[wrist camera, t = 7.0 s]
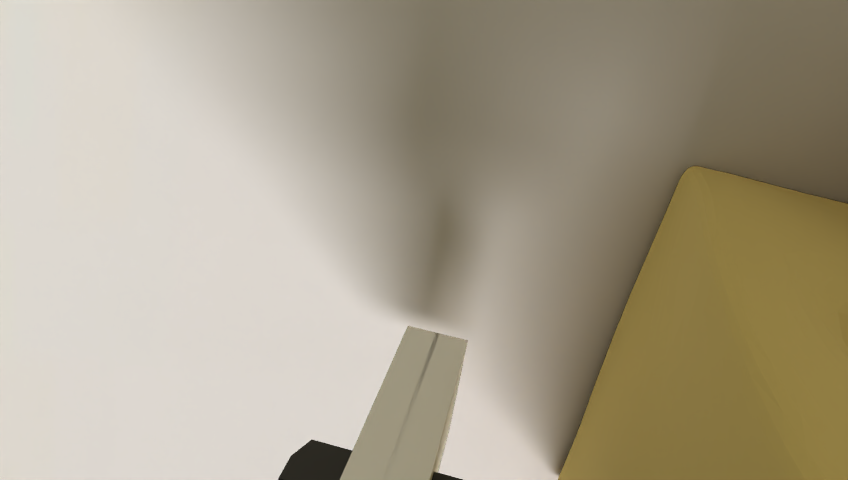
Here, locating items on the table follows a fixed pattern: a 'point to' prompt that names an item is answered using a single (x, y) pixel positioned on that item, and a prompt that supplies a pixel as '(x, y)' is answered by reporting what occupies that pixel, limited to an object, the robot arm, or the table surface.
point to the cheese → (728, 344)
